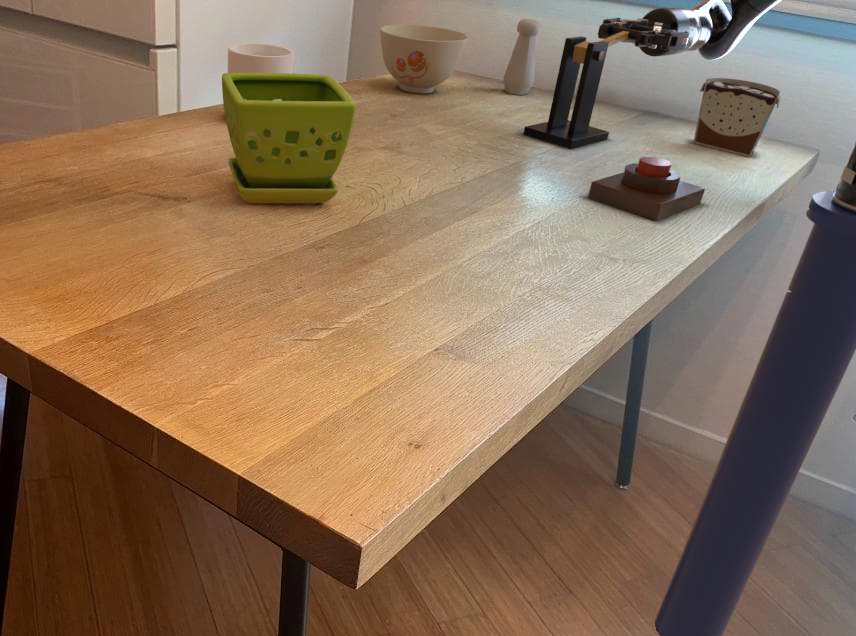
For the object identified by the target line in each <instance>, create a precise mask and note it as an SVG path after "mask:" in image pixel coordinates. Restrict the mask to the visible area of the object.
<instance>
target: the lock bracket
mask: <svg viewBox="0 0 856 636" xmlns="http://www.w3.org/2000/svg"><path fill="white" fill-rule="evenodd" d="M584 41H587V37H586V36H582V35H581V36H573V37H565V40H564V45H563V50H562V54H561V59H560V63H559V67H558V68H559V69H558V73H557V78H556V82H555V87H554V91H553V92H554V93H553V96H552V101H551V106H550V110H549V114H548V120H547V121H545V122H540V123H535V124H531V125H526V126H524V128H523V133H522V135H523V136H526V137H529V138H533V139H537V140H539V141H543V142H546V143H549V144H552V145H556V146H558V147H559V146H560V147H562V148H565V149H569V150H571V149H575V148H579V147H583V146H587V145H591V144H596V143H600V142H604V141H607V140H608V138H609V135H610V131H608V130H604V129H602V128H597V127H594V126H592V125H591V126H590V124H591V119H592V115H593V111H594V107H595V104H596V100H597V99H596V98H597V95H598V90H599V86H600V81H601V78H602V75H603V70H604V65H605V60H606V57H607V52H608V49H609V47H608V45H609V42H605V41H601V40H600V41H601V42H599V41H594V42H592V41H591V43H588V46H587V51H586V55H585V59H584V64H583V65H582V69H581V68H580V67H581V64H582V63H578V62H573V53H574V46H575V45H577V44H579V43H582V42H584ZM580 69H581V72H580ZM579 72H580V73H581V74H580V77H579ZM578 77H579V81H578ZM577 81H578V86H577ZM576 86H577V90H576ZM575 90H576V95H575ZM574 95H575V99H573V98H574ZM573 100H574V103H573ZM572 104H573V109H572V113H571V108H572ZM570 113H571V117H570ZM569 117H570V119H569Z"/></svg>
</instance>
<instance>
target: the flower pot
mask: <svg viewBox="0 0 856 636" xmlns="http://www.w3.org/2000/svg"><path fill="white" fill-rule="evenodd" d="M221 91H222V92H221V93H222V103H223V111H224V118H225V122H226V123H225V124H226V127H227V132H228V136H229V140H230V144H231V147H232V151H233V154H234V156H235V157H229V158H228V160H227V161H228V163H227V164H228V166H229V169H230V172H231V175H232V177H233V180H234V183H235V185H236V186H235V187H236V189H237V191H238V193H239V195H240V197H241V198H242V199H243V200H244V201H245V203H247V204H248V205H249V204H250V205H255V204H315V205H317V206H318V205H319V206H322V205H324V203H327V202H328V201H330V200H331V199H333V198H334V197H335V196H336V195H337V194H338V192H339V189H338V186H337V184H336V183H335V181H334V179H333V177H334V175H335V174H336V172H337V170H338V168H339V167H340V164H341V162H342V160H343V158H344V155H345V153H346V150H347V147H348V143H349V141H350V136H351V132H352V128H353V123H354V117H355V111H356V105H355V104H356V103H355V102H354V99H353V98H352V97H351V95H350V94H349V93H348V92H347V91H346V90H345V89H344V87H342V85H341V84H340V83H338V82H337V80H335V79H334V78H332V76H329V75H326V74H315V73H314V74H313V73H295V74H287V73H228V72H225V73H222V75H221ZM243 99H247V100H243ZM274 99H282V101H273V100H274Z"/></svg>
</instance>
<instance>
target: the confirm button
mask: <svg viewBox="0 0 856 636" xmlns="http://www.w3.org/2000/svg"><path fill="white" fill-rule="evenodd" d="M637 164H638V167H637V172H639V173H642V174H645V175H648V176H654V177H668V175H669V171H670V169H672V165H673V163H672V162H670V161H669V160H667V159H665V158H661V157H655V156H642V157H640V158H639V160H638V163H637Z"/></svg>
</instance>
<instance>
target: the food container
mask: <svg viewBox="0 0 856 636" xmlns="http://www.w3.org/2000/svg"><path fill="white" fill-rule="evenodd" d="M699 92H700V93H701V92H703V93H702V98H701V102H700V107H699V113H698V118H697V123H696V126H695V127H696V128H695V133H694V137H693V143H694V144H696V145H701V146H704V147H709V148H713V149H717V150H720V151H725V152H729V153H733V154H736V155H741V156H745V157H748V158H750V157H752V156H753V154H754V153H755V150H756V148H757V145H758V143H759V141H760V140H761V137H762V135H763V132H764V130H765V128H766V127H767V123H768V121H769V119H770V117H771V115H772V113H773V111H774V108H775V107H776V109H778V108H780V104H781V97H782V96H781V95H780V94H781V91H780V89H778V88H775V87H773V86H771V85H768V84H764V83H759V82H754V81H750V80H744V79H737V78H728V77H709V78H706V80H705V82H703V83H702V85H701V87H700V89H699Z"/></svg>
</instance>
